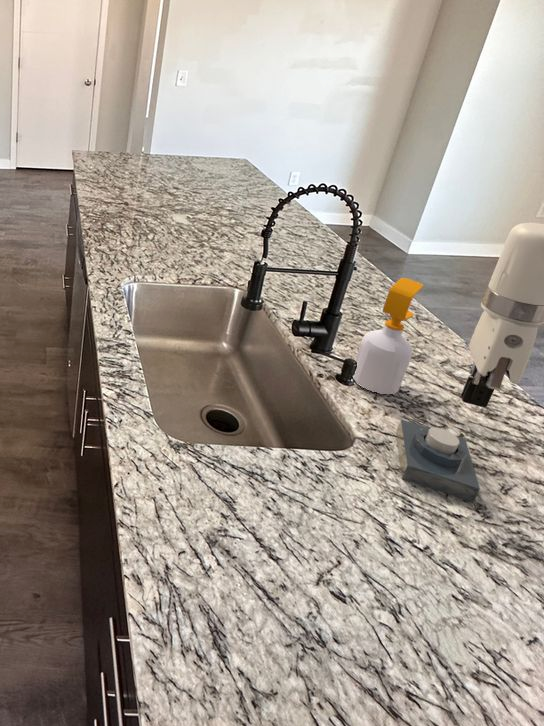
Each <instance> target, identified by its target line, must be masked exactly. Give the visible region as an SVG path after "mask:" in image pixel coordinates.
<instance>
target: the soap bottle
mask: <svg viewBox="0 0 544 726" xmlns="http://www.w3.org/2000/svg"><path fill="white" fill-rule="evenodd" d="M423 288H424V284H422V283H421V282H418V281H415V280H413V279H410V278H407V277H400V278H399V279H398V280H397V281H396V282H395V283H394V284H392V285H391V287H390V289H389V291H388V293H387V296H386V299H385V301H384V304H383V308H382V312H383V313H385V314H388V315H389V317H390V318H391V319H387V320H386V321H385V322H384V325H383V328H382V329H374V330H370V331H367V332H366V333H365V334H364V335H363V337H362V340H361V343H360V346H359V349H358V352H357V354H356V358H355V361H356V362H357V369H356V371H355V377H354V379H355V381H356V382H357V383H358V384H360V385H361V386H363V387H364V388H367V389H369V390H371V391H372V392H377V393H380V394H393V395H395V394H397V393H398V392H399V391H400V388H401V385H402V383H403V380H404V377H405V375H406V372H407V369H408V367H409V365H410V362H411V360H412V357H413V346H412V345H411V343H410V341H409V340H408V339H406V337H404V336H403V335H402V334H403V331H404V329H405V325H404V324H402V322H404V321H405V322H406V321H407V320H409V319H411V318H412V317H414V315H415V314H414V312H412V311H410V310H409V308H410V306H411V304H412V301H413V299H414V298H415V296H416V295H417V294H418V293H419V292H420V291H421V290H422V289H423ZM355 361H354V362H355ZM372 392H371V393H372Z"/></svg>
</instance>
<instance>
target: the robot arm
mask: <svg viewBox="0 0 544 726" xmlns="http://www.w3.org/2000/svg"><path fill="white" fill-rule="evenodd" d="M480 307H481V308H482V309H483V311H482V313H481V315H480V318H479V320H478V322H477V323H476V326H475V328H474V331H473V332H472V336H471V339H470V341H469V351H470V354H471V357H472V358H471V359H472V360H473V363H472V365H471V368H470V370H469V376H468V377H467V379H466V382H465V384H464V386H463V388H462V391H461V394H460V396H461V398H462V402H463V403H466V404H470V405H473V406H477V407H480V408H487V407H488V405H489V403H490V400H491V398H492V396H493V394H494V392H495V391H499V390H501V387H502V384H503V380H504V377H505V375H506V376H507V378H508V380H509V382H510V383H511V384H514V385H517V384H519V383H520V382H521V380H522V378H523V375H524V373H525V370H526V368H527V366H528V363H529V360H530V357H531V354H532V351H533V349H534V346H535V342H536V338H537V334H538V329H539V326H540V325H543V324H544V223H539V222H522V223H518V224H516V225H515V226H513V227H512V229H510V231H509V233H508V235H507V238H506V241H505V243H504V245H503V247H502V251H501V252H500V255H499V258H498V260H497V263H496V265H495V267H494V270H493V273H492V275H491V277H490V280H489V283H488V285H487V287H486V290H485V293H484V295H483V297H482V300H481V303H480Z"/></svg>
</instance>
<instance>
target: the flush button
mask: <svg viewBox="0 0 544 726" xmlns="http://www.w3.org/2000/svg"><path fill="white" fill-rule="evenodd" d="M430 428H431V429H429V431H428V433H427V436H426V438H425V441H426V443H427V444H428V445H429V446H430V447H432V448H434V449H435V450H437V451H439V452H442V453H445V454H454V453H455V452H456V450H457V448H458V445H459V443H460V442H459V439H458V438H457V437H456V436H457V435H456V434H454V433H452V432H451V431H449V430H447V429H445V428H441V427H430Z"/></svg>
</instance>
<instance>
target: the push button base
mask: <svg viewBox="0 0 544 726" xmlns="http://www.w3.org/2000/svg"><path fill="white" fill-rule="evenodd" d="M431 428H432V427H429V426H425V425H422V424H418V423H415V422H411V421H408V420H406V419H405V420H404V419H401V418H400V420H399V423H398V426H397V428H396V430H395V437H396V436H397V438H396V446H397V445H398V446H397V453H398V460H399V468H400V477H401V480H403V481H406V482H409V483H412V484H416V485H418V486H420V487H424V488H427V489H430V490H432V491H436V492H439V493H441V494H445V495H448V496H451V497H454V498H457V499H460V500H463V501H466V502H468V503H472V504H473V503H474V502H475V500H476V499H477V496H478V494H479V492H480V490H481V488H480V487H481V486H480V484H479V480H478V477H477V474H476V471H475V468H474V464H473V463H474V462H473V460H472V457H471V453H470V450H469V447H468V443H467V439H466V437H462V436H459V435H455V436H456V437H457V438H458V439H459V442H460V443H459V445H458V448H457V450H456V452H455V453H454V454H445V453H442V452H439V451H437V450H435V449H434V448H432V447H430V446H429V445H428V444H427V443H426V441H425V438H426V436H427V433H428V431H429V429H431Z"/></svg>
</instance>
